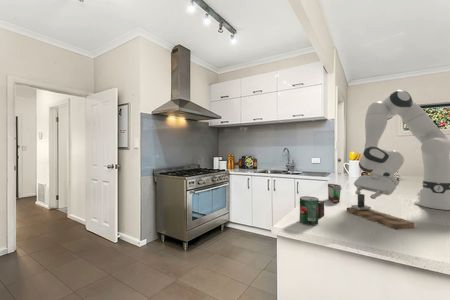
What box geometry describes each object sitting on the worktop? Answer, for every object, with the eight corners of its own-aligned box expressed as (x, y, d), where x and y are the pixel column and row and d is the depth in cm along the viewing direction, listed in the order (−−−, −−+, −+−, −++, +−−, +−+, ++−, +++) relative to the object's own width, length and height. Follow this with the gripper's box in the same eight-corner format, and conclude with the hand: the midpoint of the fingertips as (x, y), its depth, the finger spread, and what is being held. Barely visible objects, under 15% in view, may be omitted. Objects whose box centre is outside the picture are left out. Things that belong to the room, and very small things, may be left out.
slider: (351, 207, 115) (351, 193, 115) (362, 206, 116) (362, 193, 116) (359, 210, 110) (359, 195, 110) (370, 209, 111) (371, 195, 111)
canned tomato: (295, 221, 100) (295, 197, 100) (308, 218, 104) (308, 195, 104) (309, 227, 93) (309, 201, 93) (322, 224, 97) (322, 199, 97)
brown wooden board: (346, 211, 116) (346, 207, 116) (362, 210, 118) (362, 206, 118) (395, 229, 90) (395, 224, 90) (414, 227, 93) (414, 222, 93)
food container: (344, 204, 131) (345, 187, 131) (333, 203, 132) (334, 186, 132) (337, 199, 143) (337, 183, 143) (327, 198, 144) (327, 183, 144)
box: (324, 215, 108) (324, 201, 108) (320, 218, 104) (320, 203, 104) (312, 213, 113) (312, 199, 112) (307, 216, 108) (307, 201, 108)
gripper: (360, 170, 126) (345, 187, 124) (395, 175, 106) (378, 196, 104) (366, 177, 127) (352, 195, 125) (402, 184, 107) (385, 205, 105)
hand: (364, 195), depth 114 cm, fingers open, 8 cm apart
